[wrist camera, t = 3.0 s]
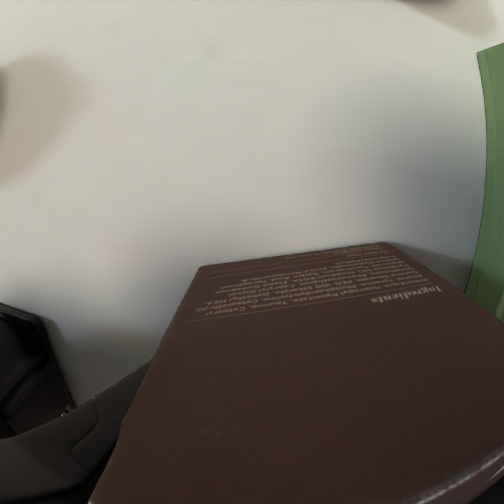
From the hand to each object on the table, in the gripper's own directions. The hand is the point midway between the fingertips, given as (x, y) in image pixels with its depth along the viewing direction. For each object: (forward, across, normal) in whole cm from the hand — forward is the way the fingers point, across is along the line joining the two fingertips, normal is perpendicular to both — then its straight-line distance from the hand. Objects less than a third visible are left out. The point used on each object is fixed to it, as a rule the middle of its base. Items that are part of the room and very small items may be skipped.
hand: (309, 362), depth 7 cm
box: (+2, 0, 0) cm, 2 cm away
